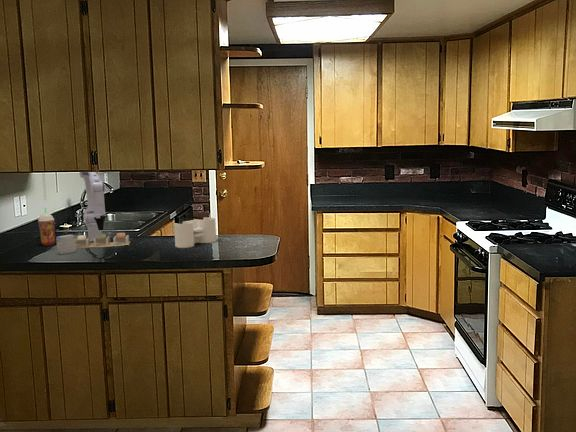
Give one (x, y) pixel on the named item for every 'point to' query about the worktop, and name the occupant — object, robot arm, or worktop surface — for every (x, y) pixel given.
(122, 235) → the terracotta key
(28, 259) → the worktop surface
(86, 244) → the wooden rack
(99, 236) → the sage key
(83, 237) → the ivory key
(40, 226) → the smoothie
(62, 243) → the medicine box
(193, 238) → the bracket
